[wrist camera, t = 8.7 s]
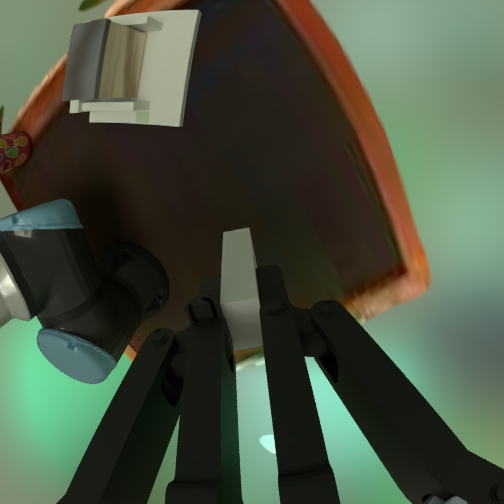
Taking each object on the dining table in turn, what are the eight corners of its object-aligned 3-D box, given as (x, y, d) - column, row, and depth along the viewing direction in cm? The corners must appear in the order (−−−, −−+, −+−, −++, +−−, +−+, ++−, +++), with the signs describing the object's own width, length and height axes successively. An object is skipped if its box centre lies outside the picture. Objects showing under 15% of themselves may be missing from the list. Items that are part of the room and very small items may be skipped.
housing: (201, 12, 32) (184, -4, 25) (182, 126, 40) (162, 130, 33) (108, 19, 32) (82, 11, 26) (94, 121, 41) (66, 126, 34)
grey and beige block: (147, 34, 32) (106, 18, 22) (137, 98, 37) (93, 99, 27) (117, 36, 32) (73, 25, 23) (108, 98, 37) (62, 101, 27)
